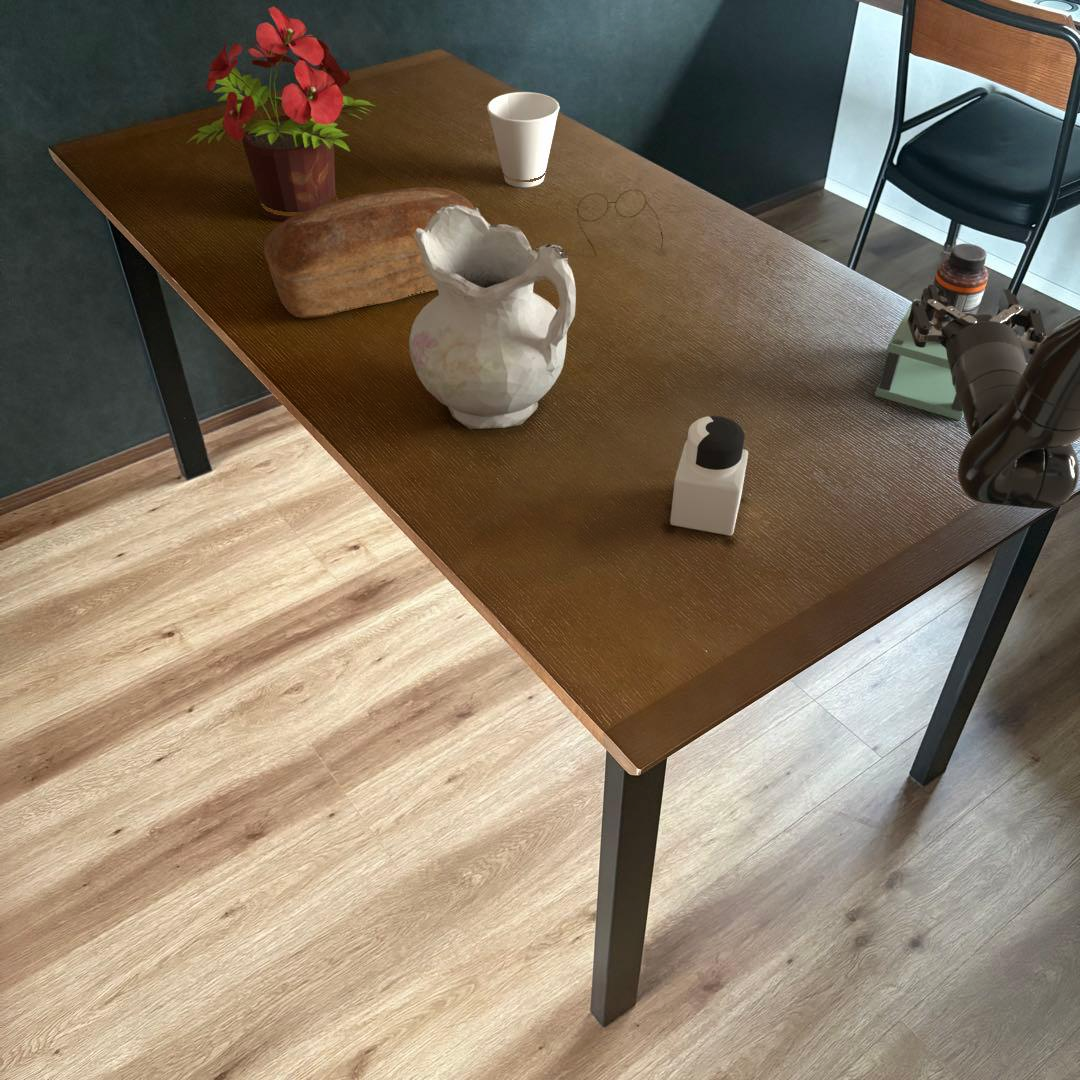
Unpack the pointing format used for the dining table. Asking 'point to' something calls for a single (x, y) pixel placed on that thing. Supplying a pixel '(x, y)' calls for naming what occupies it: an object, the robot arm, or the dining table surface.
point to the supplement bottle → (962, 278)
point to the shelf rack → (918, 375)
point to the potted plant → (285, 117)
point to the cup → (523, 134)
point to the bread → (354, 251)
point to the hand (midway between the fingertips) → (966, 293)
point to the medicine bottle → (710, 476)
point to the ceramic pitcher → (489, 319)
